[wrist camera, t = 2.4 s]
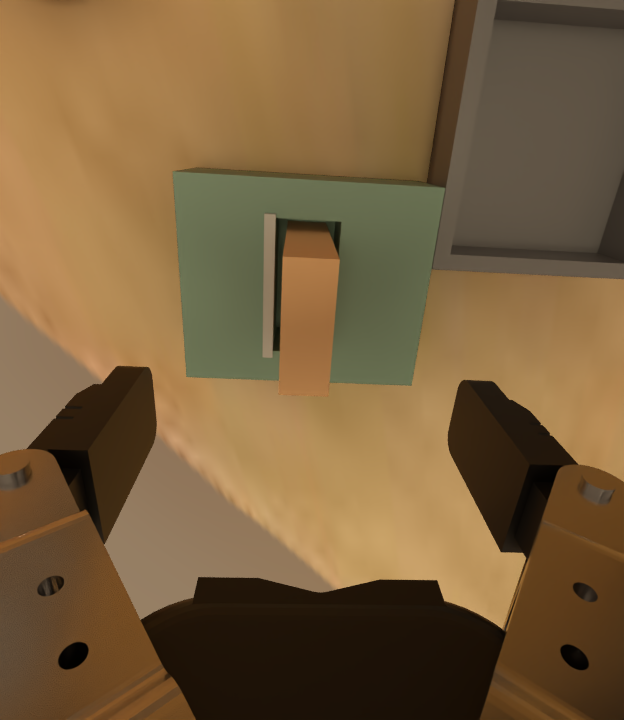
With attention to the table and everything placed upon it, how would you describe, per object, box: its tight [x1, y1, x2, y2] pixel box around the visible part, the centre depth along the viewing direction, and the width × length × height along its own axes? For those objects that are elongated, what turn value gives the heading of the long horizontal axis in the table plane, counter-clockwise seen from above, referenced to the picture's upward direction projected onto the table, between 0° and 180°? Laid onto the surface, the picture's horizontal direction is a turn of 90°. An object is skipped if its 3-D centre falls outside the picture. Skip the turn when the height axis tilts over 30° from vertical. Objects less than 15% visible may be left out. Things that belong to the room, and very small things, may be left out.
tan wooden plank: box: [279, 221, 340, 396], centre depth 21 cm, size 2×6×9 cm, turn 177°
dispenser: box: [173, 168, 445, 386], centre depth 24 cm, size 12×10×5 cm
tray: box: [427, 0, 624, 279], centre depth 22 cm, size 11×12×4 cm
